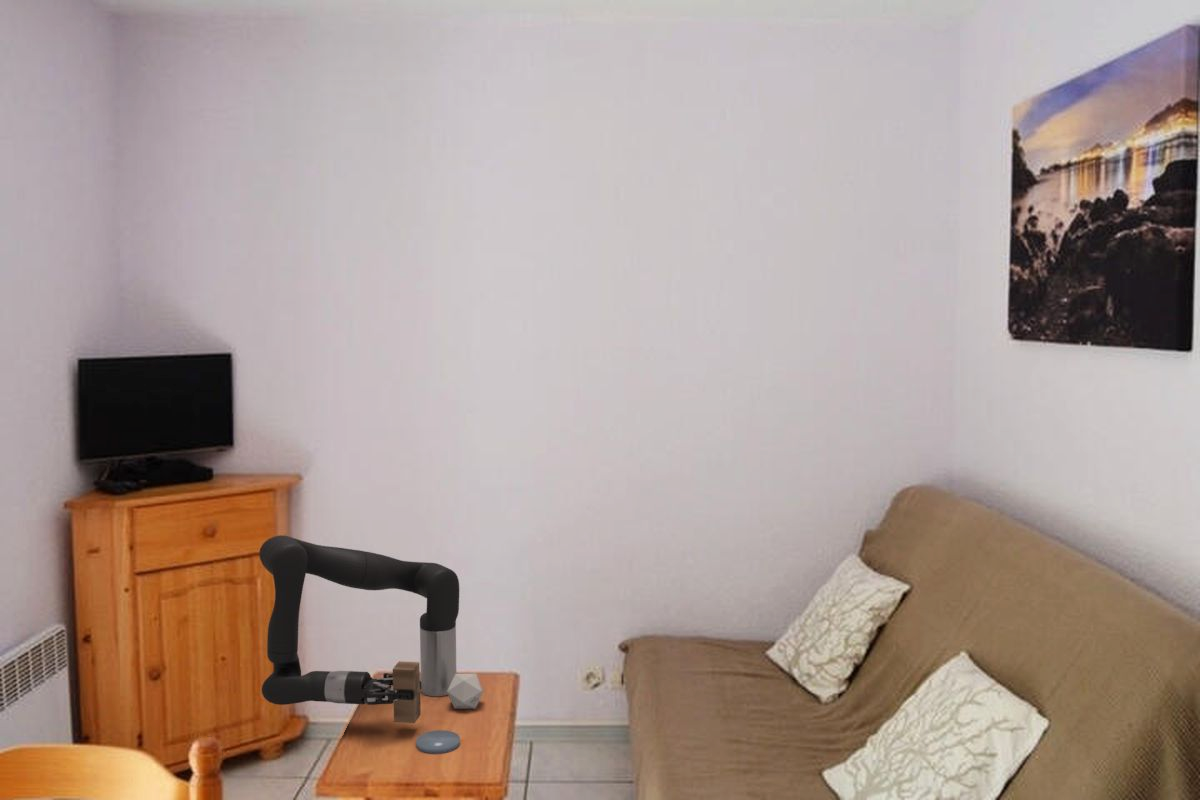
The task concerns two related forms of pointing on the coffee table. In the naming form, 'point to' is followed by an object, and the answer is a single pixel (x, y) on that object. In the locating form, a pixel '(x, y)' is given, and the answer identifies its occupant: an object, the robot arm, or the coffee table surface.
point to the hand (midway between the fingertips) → (417, 690)
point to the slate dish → (437, 741)
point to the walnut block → (407, 679)
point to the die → (465, 691)
